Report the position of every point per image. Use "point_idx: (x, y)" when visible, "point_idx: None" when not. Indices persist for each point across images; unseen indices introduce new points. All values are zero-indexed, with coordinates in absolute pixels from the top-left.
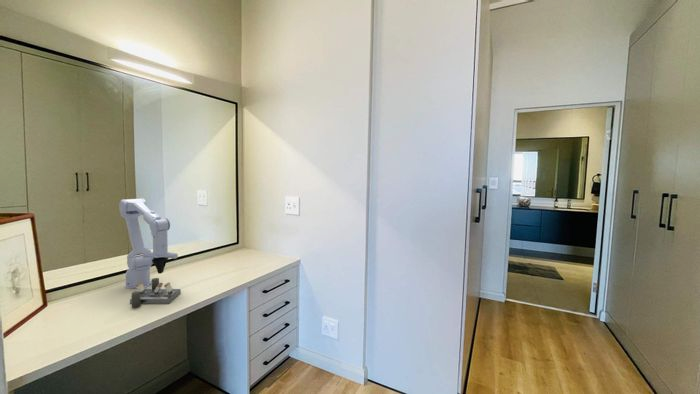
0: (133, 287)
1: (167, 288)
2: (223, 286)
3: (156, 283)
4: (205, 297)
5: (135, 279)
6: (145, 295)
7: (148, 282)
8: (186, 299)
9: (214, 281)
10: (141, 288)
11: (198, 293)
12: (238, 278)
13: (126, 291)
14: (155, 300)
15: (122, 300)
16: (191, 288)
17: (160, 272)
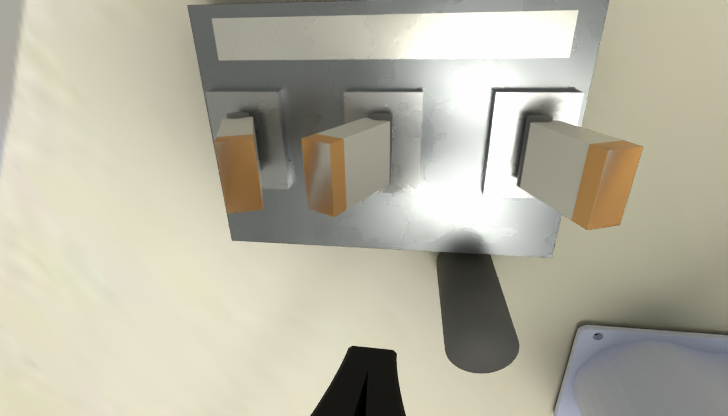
0: (685, 335)
1: (228, 127)
2: (39, 312)
3: (453, 299)
4: (21, 144)
5: (715, 402)
6: (477, 107)
7: (581, 389)
8: (133, 109)
9: (147, 384)
10: (549, 151)
11: (120, 215)
12: (40, 407)
13: (725, 281)
14: (322, 1)
15: (702, 94)
16: (224, 298)
17: (350, 355)
